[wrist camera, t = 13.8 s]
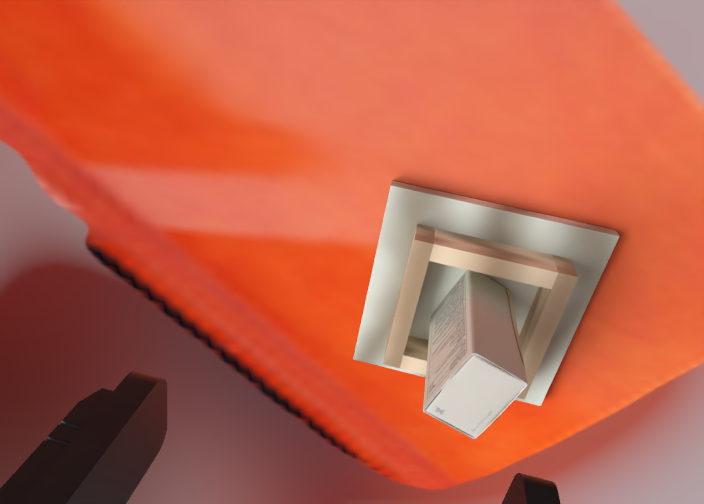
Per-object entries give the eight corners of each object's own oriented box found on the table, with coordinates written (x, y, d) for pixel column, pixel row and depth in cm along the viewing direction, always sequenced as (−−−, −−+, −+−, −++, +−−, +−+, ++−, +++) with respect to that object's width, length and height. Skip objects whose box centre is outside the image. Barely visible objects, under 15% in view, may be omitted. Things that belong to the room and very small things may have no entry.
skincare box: (470, 338, 46) (474, 443, 36) (427, 314, 46) (419, 413, 35) (513, 288, 43) (532, 386, 33) (468, 262, 43) (473, 353, 32)
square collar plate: (355, 351, 51) (347, 379, 47) (392, 180, 42) (386, 199, 39) (538, 397, 49) (545, 430, 46) (615, 229, 41) (631, 253, 37)
